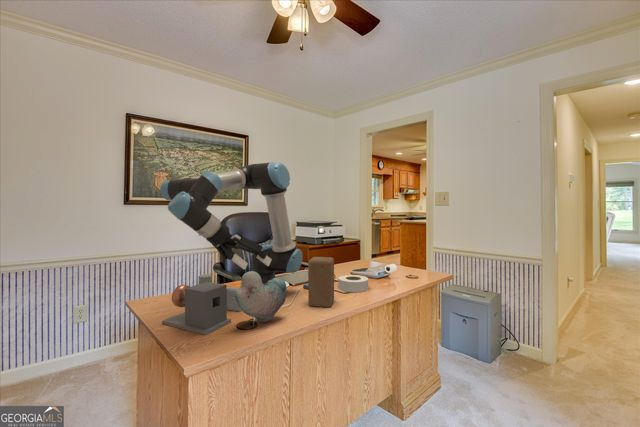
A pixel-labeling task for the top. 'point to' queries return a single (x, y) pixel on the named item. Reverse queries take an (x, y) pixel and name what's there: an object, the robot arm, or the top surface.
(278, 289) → the grey rounded bird shape
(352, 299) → the top surface
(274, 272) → the robot arm
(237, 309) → the medicine box
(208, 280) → the air freshener
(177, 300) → the orange rounded long piece
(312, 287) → the wooden block
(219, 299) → the bearing block
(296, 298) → the top surface
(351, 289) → the roll of tape
